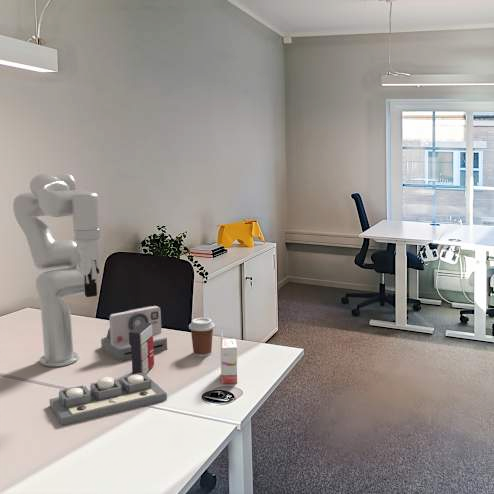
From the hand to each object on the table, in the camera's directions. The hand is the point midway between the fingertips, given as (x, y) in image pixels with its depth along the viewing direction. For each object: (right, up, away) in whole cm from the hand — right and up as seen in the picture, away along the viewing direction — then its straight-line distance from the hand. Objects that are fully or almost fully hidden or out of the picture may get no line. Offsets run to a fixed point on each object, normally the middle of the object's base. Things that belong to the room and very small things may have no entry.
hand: (91, 295), depth 176 cm
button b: (+5, -26, -4) cm, 27 cm away
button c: (+13, -27, +1) cm, 30 cm away
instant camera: (+5, -23, +40) cm, 46 cm away
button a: (-2, -29, -8) cm, 30 cm away
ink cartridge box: (+41, -27, +11) cm, 50 cm away
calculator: (+12, -26, +18) cm, 34 cm away
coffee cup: (+30, -23, +34) cm, 51 cm away
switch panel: (+6, -30, -5) cm, 31 cm away
